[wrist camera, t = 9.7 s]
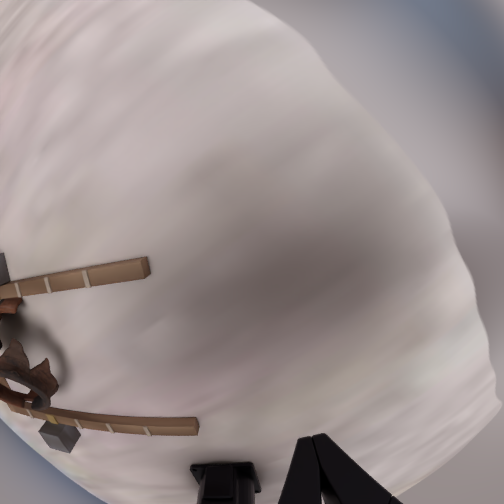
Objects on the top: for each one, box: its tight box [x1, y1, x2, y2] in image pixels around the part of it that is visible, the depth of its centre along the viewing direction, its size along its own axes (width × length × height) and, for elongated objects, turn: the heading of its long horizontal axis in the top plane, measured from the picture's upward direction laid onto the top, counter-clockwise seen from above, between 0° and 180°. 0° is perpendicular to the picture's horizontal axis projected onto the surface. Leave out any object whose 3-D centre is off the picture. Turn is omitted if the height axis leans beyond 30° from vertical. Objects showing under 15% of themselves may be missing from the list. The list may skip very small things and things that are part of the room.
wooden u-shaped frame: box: [0, 253, 199, 453], centre depth 18 cm, size 21×25×3 cm
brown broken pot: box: [0, 297, 59, 411], centre depth 17 cm, size 12×10×8 cm
